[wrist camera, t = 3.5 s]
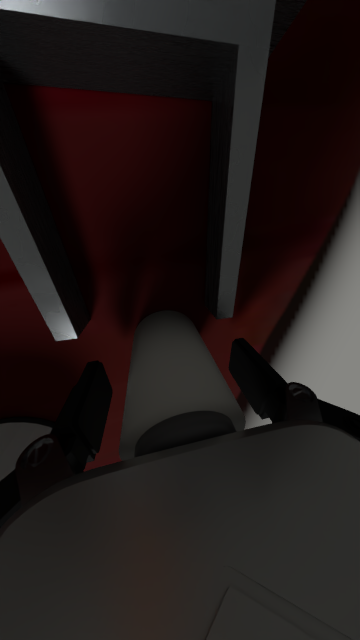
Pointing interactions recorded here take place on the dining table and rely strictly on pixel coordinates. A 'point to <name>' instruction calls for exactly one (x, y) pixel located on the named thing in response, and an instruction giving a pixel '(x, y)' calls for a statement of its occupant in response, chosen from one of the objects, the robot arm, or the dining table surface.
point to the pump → (174, 389)
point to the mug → (18, 439)
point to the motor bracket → (146, 79)
